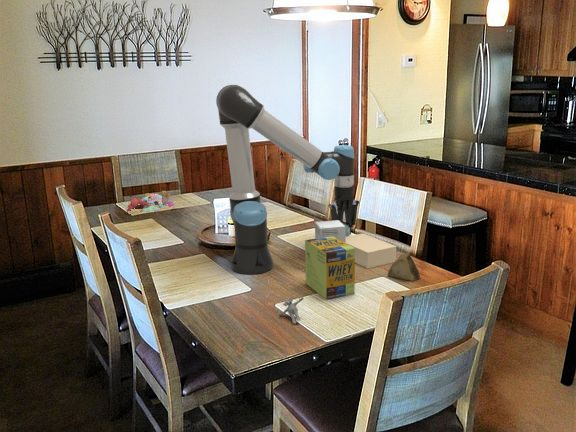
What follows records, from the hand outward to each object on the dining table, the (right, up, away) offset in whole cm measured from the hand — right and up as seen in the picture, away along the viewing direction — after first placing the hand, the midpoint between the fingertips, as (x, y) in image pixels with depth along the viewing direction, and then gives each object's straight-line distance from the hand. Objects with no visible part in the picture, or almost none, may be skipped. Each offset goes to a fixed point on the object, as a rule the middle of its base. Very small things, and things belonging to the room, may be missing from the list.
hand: (344, 243), depth 222 cm
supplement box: (-7, -8, -22) cm, 25 cm away
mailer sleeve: (+7, -5, -11) cm, 14 cm away
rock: (+17, -10, -31) cm, 37 cm away
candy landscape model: (-94, +14, +70) cm, 118 cm away
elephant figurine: (-21, -19, -60) cm, 67 cm away
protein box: (-9, -13, -40) cm, 43 cm away
